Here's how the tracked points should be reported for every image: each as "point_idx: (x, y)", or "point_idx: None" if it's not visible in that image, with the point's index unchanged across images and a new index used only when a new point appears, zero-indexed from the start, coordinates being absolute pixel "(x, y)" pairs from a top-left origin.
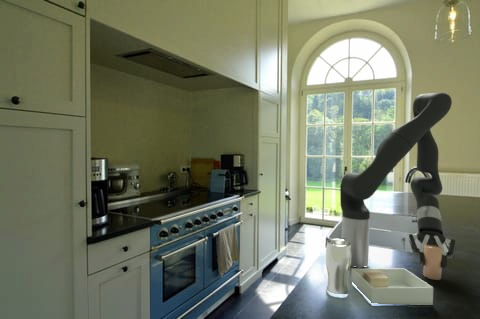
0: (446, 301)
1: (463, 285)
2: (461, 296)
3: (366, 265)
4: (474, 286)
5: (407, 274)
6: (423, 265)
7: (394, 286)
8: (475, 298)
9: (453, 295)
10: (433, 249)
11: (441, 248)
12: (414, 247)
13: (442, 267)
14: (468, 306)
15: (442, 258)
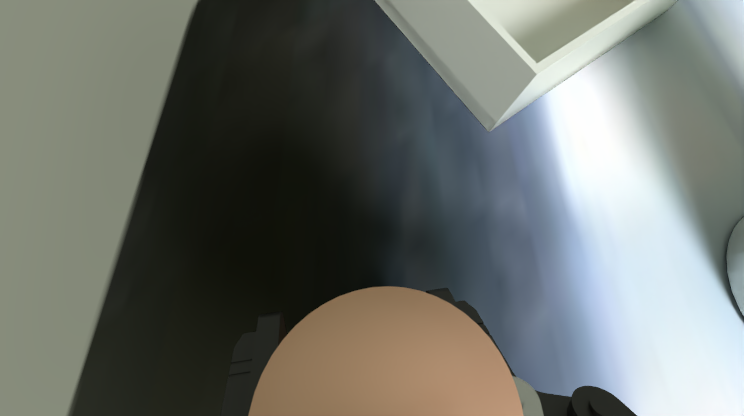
0: (299, 42)
1: (169, 316)
2: (219, 132)
3: (737, 258)
4: (95, 344)
5: (499, 52)
6: None
7: (519, 34)
8: (150, 145)
9: (258, 123)
10: (382, 289)
11: (260, 414)
12: (615, 412)
13: (284, 323)
14: (210, 39)
15: None
